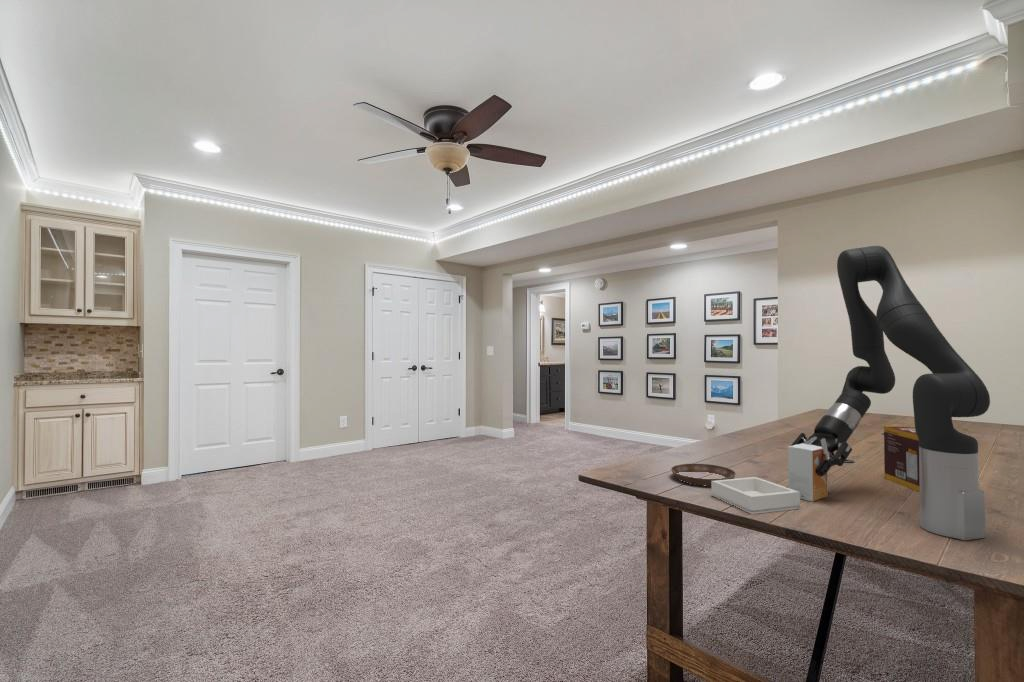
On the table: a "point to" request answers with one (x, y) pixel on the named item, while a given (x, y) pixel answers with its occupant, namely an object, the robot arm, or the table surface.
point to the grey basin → (755, 495)
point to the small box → (806, 471)
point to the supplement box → (902, 456)
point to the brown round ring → (701, 468)
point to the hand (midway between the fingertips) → (804, 469)
